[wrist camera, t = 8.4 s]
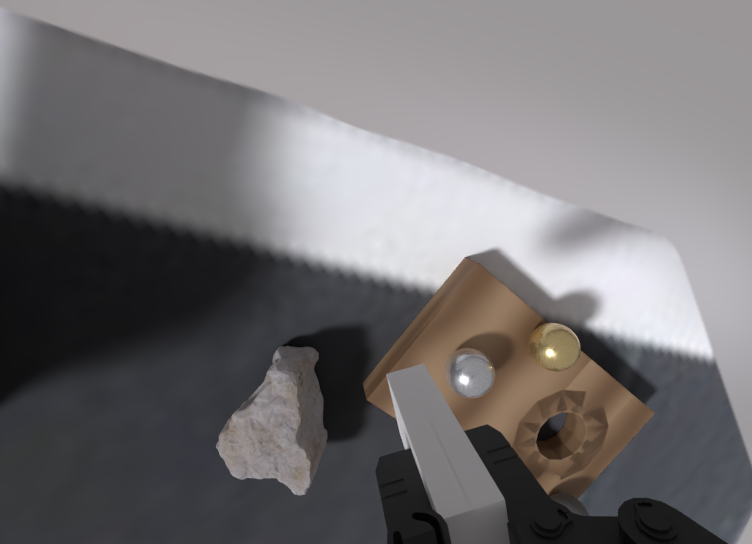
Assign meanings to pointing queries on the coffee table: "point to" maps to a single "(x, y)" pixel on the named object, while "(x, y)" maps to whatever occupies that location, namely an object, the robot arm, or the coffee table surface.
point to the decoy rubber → (570, 503)
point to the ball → (469, 373)
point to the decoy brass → (554, 347)
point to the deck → (515, 382)
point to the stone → (279, 424)
